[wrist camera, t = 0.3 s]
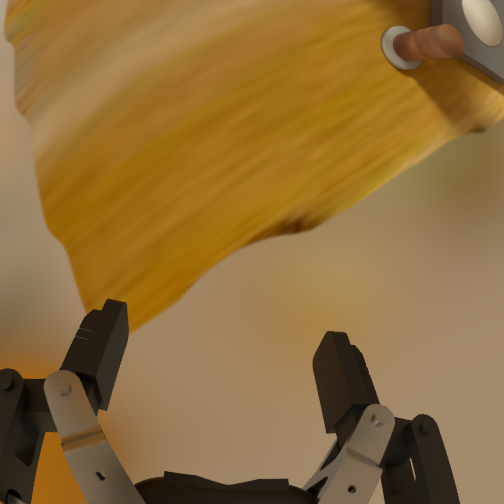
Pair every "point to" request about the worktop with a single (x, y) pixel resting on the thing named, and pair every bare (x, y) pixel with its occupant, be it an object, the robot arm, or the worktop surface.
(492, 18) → the plate
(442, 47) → the handle
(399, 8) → the worktop surface
